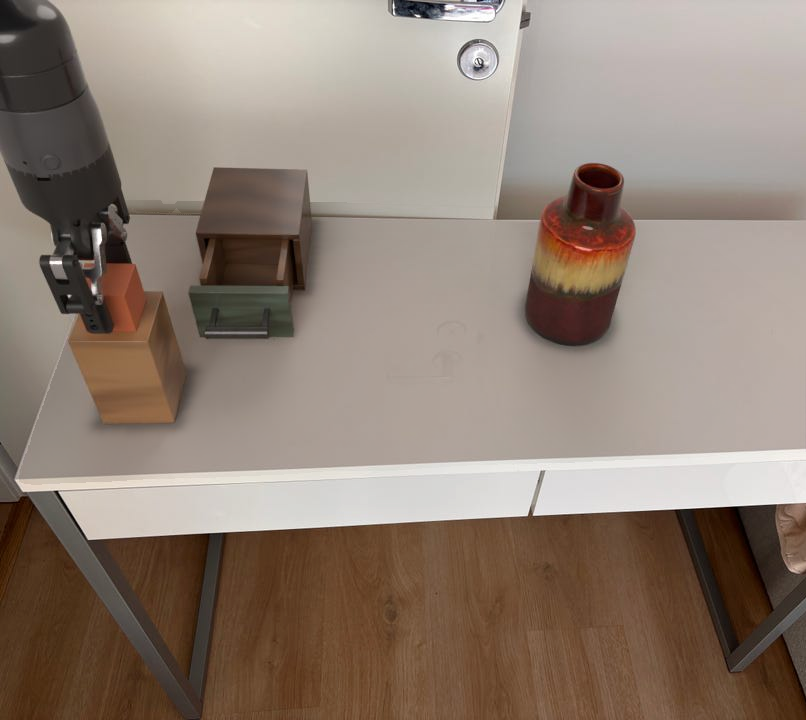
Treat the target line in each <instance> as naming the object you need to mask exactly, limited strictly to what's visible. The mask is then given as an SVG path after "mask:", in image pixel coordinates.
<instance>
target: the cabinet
mask: <svg viewBox="0 0 806 720" xmlns="http://www.w3.org/2000/svg"><path fill="white" fill-rule="evenodd" d="M308 175H309V174H308V170H307V169H297V168H295V169H293V168H292V169H291V168H290V169H288V168H260V167H259V168H258V167H257V168H256V167H255V168H253V167H220V166H219V167H218V166H217V167H213V169H212V173H211V176H210V179H209V182H208V187H207V190H206V194H205V198H204V201H203V205H202V208H201V212H200V215H199V219H198V222H197V226H196V230H195V236H196V242H197V246H198V250H199V254H200V259H201V263H202V264H203V262H204V259H205V255H206V251H207V247H208V243H209V239H210V238H216V239H284V240H293V248H294V256H295V265H296V266H295V274H294V282H293V290H292V291H306V286H307V277H308V276H307V275H308V267H309V256H310V250H311V249H310V247H311V238H312V231H313V230H312V229H313V218H312V206H311V198H310V197H311V195H310V187H309V186H310V185H309V176H308Z"/></svg>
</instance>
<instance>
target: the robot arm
mask: <svg viewBox="0 0 806 720" xmlns="http://www.w3.org/2000/svg"><path fill="white" fill-rule="evenodd" d="M0 155H1V157H2V159H3V162H4V164H5V166H6V169H7V171H8V173H9V176H10V178H11V181H12V182H13V186H14V188H15V190H16V192H17V195H18V197H19V199H20V202H21V204H22V205H23V207H24V208H25V209H26V210H27V211H28V212H30V213H32V214H34V215H35V216H37V217H39V218H41V219H42V220H44V221H45V222H47V223H48V224H49V225H50V226H49V228H50V235H51V241H52V243H53V245H54V247H55V248H54V250H53V253H52V254H41V255H40V256H39V259H38V260H39V263H38V264H39V268H40V269H41V273H42V274H43V277H44V279H45V281H46V284H47V286H48V287H49V289H50V290H49V291H50V292H51V295H52V296H53V299H54V301H55V303H56V306H57V308H58V310H59V312H60V314H62V315H75V314H77V315H79V314H80V316H81V318H82V321H83V323H84V325H85V328H86V330H87V331H88V332H89V333H92V334H110V333H112V331H113V328H114V322H113V320H112V317H111V314H110V312H109V309H108V306H107V304H106V301H105V298H104V297H103V289H102V277H103V276H105V275H106V274H107V266H106V263H112V264H133V261H132V259H131V255H130V251H129V249H128V246H127V244H126V243H127V240H128V232H127V230H126V228H125V227H124V225H129V223H130V220H131V216H130V212H129V210H128V207H127V203H126V200H125V197H124V192H123V190H122V181H121V177H120V174H119V170H118V167H117V163H116V160H115V157H114V153H113V150H112V148H111V144H110V141H109V138H108V134H107V131H106V128H105V124H104V121H103V117H102V115H101V112H100V109H99V106H98V103H97V102H96V99H95V98H94V95H93V93H92V91H91V89H90V86H89V84H88V81H87V78H86V76H85V72H84V68H83V65H82V61H81V59H80V55H79V52H78V48H77V46H76V42H75V39H74V36H73V33H72V30H71V28H70V26H69V23H68V21H67V20H66V18H65V15H64V14H63V13H62V12H61V11H60V9H59V8H58V7H57V6H56V5H55V4H53V3H52V2H51V1H50V0H0ZM113 205H114V206H115V207H116V208H115V207H114V206H113ZM80 261H94V262H93V263H95V265H94V267H83V266H84V263H82V262H80ZM86 278H89V279H90V281H91V289H92V291H90V288H89V286H88V283H87V281H86Z"/></svg>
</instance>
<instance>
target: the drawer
mask: <svg viewBox="0 0 806 720" xmlns="http://www.w3.org/2000/svg"><path fill="white" fill-rule="evenodd" d="M295 266H296V265H295V256H294V248H293V240H284V239H216V238H210V239H209V243H208V247H207V251H206V255H205V259H204V262H203V263H202V267H201V270H200V274H199V279H198V280H199V283H200V285H195V284H194V285H193V284H191V285H189V288H188V293H187V294H188V297H189V301H190V304H191V309H192V313H193V317H194V321H195V324H196V329H197V331H198V336H199V338H205V340H269V339H270V338H294V335H295V326H294V317H293V310H292V299H293V291H294V290H293V282H294V274H295Z"/></svg>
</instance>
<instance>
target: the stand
mask: <svg viewBox="0 0 806 720" xmlns="http://www.w3.org/2000/svg"><path fill="white" fill-rule="evenodd" d="M144 293H145V296H146V303H145V306H144V309H143V312H142V315H141V318H140V322H139V325H138V328H137V331H136V332H112V333H110V334H92V333H89V332H86V331H85V329H84V326H83V324H82V321H81V319H80V316H79V314H77V317H76V320H75V322H74V324H73V327H72V330H71V332H70V335H69V338H68V339H67V343H68V345H69V348H70V350H71V352H72V355H73V357H74V359H75V362H76V363H77V366H78V369H79V371H80V373H81V375H82V377H83V380H84V382H85V384H86V386H87V389H88V391H89V394H90V395H91V398H92V400H93V403H94V405H95V408H96V409H97V411H98V414H99V416H100V419H101V421H102V423H103V424H104V425H108V424H110V425H112V424H117V425H119V424H171V423H172V424H175V422H176V418H177V413H178V410H179V406H180V401H181V397H182V393H183V390H184V384H185V382H186V381H185V380H186V377H187V371H186V367H185V363H184V360H183V356H182V353H181V350H180V346H179V342H178V339H177V336H176V332H175V329H174V326H173V323H172V319H171V315H170V311H169V308H168V305H167V302H166V298H165V296H164V291H161V290H160V291H159V290H150V291H149V290H144Z"/></svg>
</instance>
